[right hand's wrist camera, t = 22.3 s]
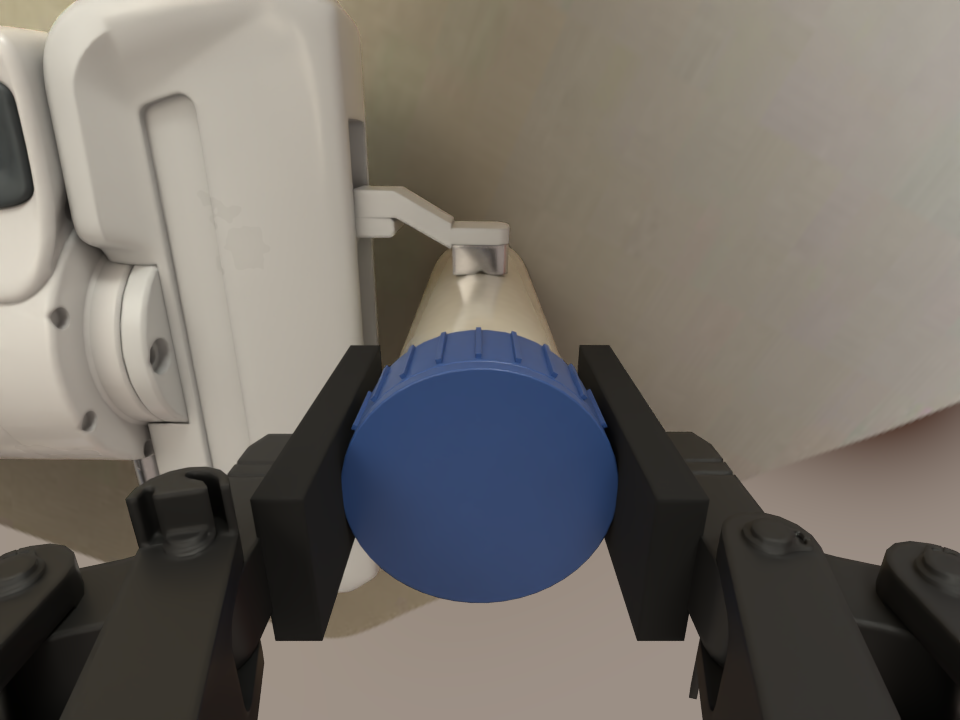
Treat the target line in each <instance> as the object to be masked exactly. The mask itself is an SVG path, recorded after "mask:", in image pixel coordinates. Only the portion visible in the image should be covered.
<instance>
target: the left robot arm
mask: <svg viewBox="0 0 960 720" xmlns="http://www.w3.org/2000/svg"><path fill="white" fill-rule="evenodd" d="M404 223H405V224H407V225H409V226H410V227H412V228H414V229H416V230H417V231H419V232H421V233H423V234H425V235H426V236H428V237H430V238H432V239H433V240H435V241H437V242H439V243H440V244H442V245H444V246H446V247H448V248H449V249H451V247H452V265H453V275H475V274H476V273H478V272H479V271H482V272H484V273H485V274H486V275H504V274H507V273H508V255H509V225H508V223H504V222H496V221H454V217H453V216H451V215H450V214H448V213H446V212H445V211H443V210H441V209H440V208H438V207H436V206H435V205H433V204H432V203H430V202H428V201H427V200H425V199H423V198H422V197H420V196H418V195H417V194H415V193H413V192H412V191H410V190H408V189H407V188H405V187H403V186H369V170H368V154H367V137H366V120H365V103H364V87H363V70H362V53H361V38H360V33H359V29H358V27H357V25H356V23H355V22H354V21H353V19H352V18H351V17H350V16H349V15H348V13H347V12H346V11H345V10H344V9H343V7H342V6H341V5H340V4H339V3H338V2H337V1H336V0H77V1H75V2H74V3H72V4H71V5H70V6H68V7H67V8H66V9H65V10H64V11H63V12H62V13H61V14H60V15H59V16H58V18H57V19H56V20H55V22H54V23H53V25H52V27H51V29H50V30H49V32H45V31H38V30H31V29H25V28H18V27H11V26H0V459H60V460H65V459H80V460H132V461H133V465H134V469H135V473H136V477H137V480H138V484H139V486H140V485H141V484H143V483H145V482H146V481H148V480H149V479H151V478H154V477H156V476H159V475H161V474H164V473H166V472H169V471H173V470H178V469H182V468H187V467H206V466H207V467H211V468H216V469H220V470H221V471H223V472H224V473H225V474H226V475H227V474H228V472H229V471H230V470H231V468H232V467H233V466H234V465H235V464H237V461H238V459H239V458H240V457H241V455H242V454H243V453H244V452H245V450H246V449H247V448H248V446H250V445H252V444H253V443H255V442H256V441H258V440H259V439H261V438H262V437H264V436H266V435H267V434H293V432H294V431H295V429H296V428H297V426H298V425H299V423H300V422H301V420H302V419H303V417H304V416H305V414H306V413H307V411H308V409H309V408H310V406H311V405H312V403H313V402H314V400H315V399H316V397H317V396H318V394H319V393H320V391H321V390H322V388H323V386H324V385H325V383H326V382H327V380H328V379H329V377H330V376H331V374H332V373H333V371H334V370H335V368H336V367H337V365H338V364H339V362H340V360H341V359H342V357H343V356H344V354H345V353H346V351H347V350H348V348H349V347H350V345H379V338H378V321H377V304H376V287H375V271H374V254H373V238H392V237H393V236H394V234H395V233H396V232H397V231H398V230H399V229H400V228H401V227H402V226H403V225H404ZM379 569H380V567H379V566H378V565H377V564H376V563H375V562H374V561H373V560H372V559H371V558H370V557H369V556H368V555H367V553H366V552H365V551H364V550H363V548H362V547H361V546H360V544H359V543H358V541H357V539H356V538H355V540H354V543H353V546H352V549H351V552H350V556H349V559H348V562H347V565H346V568H345V571H344V574H343V578H342V581H341V584H340V587H339V590H338V592H350V591H353V590H355V589H357V588H358V587H360V586H362V585H363V584H365V583H367V582H368V581H370V580H371V579H373V578H374V577H375V576H376V575H377V574H378V572H379Z"/></svg>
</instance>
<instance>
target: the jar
mask: <svg viewBox="0 0 960 720" xmlns="http://www.w3.org/2000/svg"><path fill="white" fill-rule="evenodd" d="M476 327H481V330H493V331H501V332H507V333H511V331H514V332H517V335H518V336H522V337H524V338H527V339H529V340H532V341H534V342H536V343H538V344H540V345H542V346H543V344H546V345H548V346H549V349H550V351H552V352H553V353H554V354H556V355H557V356H558V357H560V355H559V352H558V349H557V347H556V344H555V342H554V339H553V336H552V334H551V331H550V329H549V326H548V323H547V321H546V318H545V315H544V313H543V310H542V308H541V305H540V302H539V300H538V297H537V295H536V292H535V289H534V287H533V284H532V282H531V279H530V276H529V274H528V271H527V268H526V266H525V264H524V262H523V261H522V259H521V258H520V256H519V255H518V254H517V253H516V252H515V251H514V250H513V249H512V248H510V247H509V255H508V273H507V274H504V275H486V274H485V273H484V272H482V271H479V272H478V273H476V274H475V275H453V265H452V247H451V249H449V248H448V249H447V250H446V251H445V252H444V253H443V254H442V255H441V256H440V257H439V259H438V260H437V262H436V264H435V266H434V268H433V270H432V273H431V276H430V278H429V281H428V283H427V286H426V289H425V291H424V294H423V296H422V299H421V302H420V304H419V307H418V309H417V312H416V315H415V317H414V320H413V322H412V325H411V328H410V330H409V333H408V335H407V338H406V341H405V343H404V346H403V348H402V351H401V354H400V356H399V358H400V357H401V356H403V355H404V354H405V353H407V352H408V349H409V347H410V346H412V345H414V346H415V347H416V346H418V345H420V344H421V343H423V342H425V341H428V340H430V339H433V338H435V337H438V336H440V335H441V333H442V332H446V334H449V333H453V332H458V331H467V330H476ZM560 358H561V357H560Z"/></svg>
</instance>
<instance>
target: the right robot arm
mask: <svg viewBox="0 0 960 720" xmlns="http://www.w3.org/2000/svg"><path fill="white" fill-rule="evenodd" d="M381 374H382V366H381V352H380V345H350V347H349V348H348V350H347V351H346V353H345V354H344V356H343V357H342V359H341V360H340V362H339V364H338V365H337V367H336V368H335V370H334V371H333V373H332V374H331V376H330V377H329V379H328V380H327V382H326V383H325V385H324V386H323V388H322V390H321V391H320V393H319V394H318V396H317V397H316V399H315V400H314V402H313V403H312V405H311V406H310V408H309V409H308V411H307V413H306V414H305V416H304V417H303V419H302V420H301V422H300V423H299V425H298V426H297V428H296V429H295V431H294V432H293V434H267V435H266V436H264V437H262V438H261V439H259V440H258V441H256V442H255V443H253V444H252V445H250V446H248V448H247V449H246V450H245V452H244V453H243V454H242V455H241V457H240V458H239V459H238V461H237V464H235V465H234V466H233V467H232V468H231V470H230V471H229V472H228V474H227V475H226V474H225V473H224V472H223V471H221V470H220V469H216V468H211V467H207V466H206V467H187V468H182V469H178V470H173V471H169V472H166V473H164V474H161V475H159V476H156V477H154V478H151V479H149V480H148V481H146V482H145V483H143V484H141V485H140V486H138V487H137V488H135V489H134V490H133V491H132V492H131V494H130V495H129V496H128V497H127V498H126V499H125V500H126V503H127V507H128V511H129V514H130V518H131V521H132V525H133V528H134V532H135V536H136V539H137V543H138V546H139V549H138V551H137V553H136V556H133V557H130V558H126V559H122V560H117V561H112V562H107V563H103V564H98V565H93V566H88V567H84V568H79V566H78V563H77V560H76V557H75V554H74V552H73V551H71V550H70V549H69V548H68V547H66V546H63V545H56V544H43V545H36V546H29V547H25V548H20V549H19V550H14V551H11V552H8V553H5V554H3V555H2V556H0V720H257V719H258V711H259V702H260V694H261V685H262V676H263V668H264V658H263V651H262V646H261V641H260V638H261V636H262V634H263V632H264V629H265V627H266V625H267V623H268V620H269V618H270V616H271V618H272V624H273V629H274V635H275V640H276V641H322V640H323V637H324V634H325V631H326V628H327V625H328V622H329V618H330V615H331V612H332V609H333V606H334V603H335V600H336V596H337V593H338V590H339V587H340V584H341V581H342V578H343V574H344V571H345V568H346V565H347V562H348V559H349V556H350V552H351V549H352V546H353V543H354V540H355V536H354V534H353V533H352V530H351V528H350V526H349V523H348V521H347V519H346V515H345V510H344V502H343V493H342V483H341V471H342V467H343V462H344V457H345V454H346V452H347V449H348V446H349V444H350V441H351V439H352V437H353V434H354V432H355V430H352V429H351V428H352V426H353V424H354V421H355V419H356V417H357V415H358V413H359V410H360V408H361V406H362V404H363V402H364V399H365V397H366V395H367V393H368V391H370V392H373V390H374V388H375V386H376V385H377V383H378V381H379V378H380V376H381ZM578 377H579V379H580V380H581V382H582V383H583V385H584V387H585V389H586V391H587V390H589V389H590V390H591V392H592V394H593V396H594V398H595V400H596V403H597V405H598V407H599V409H600V411H601V414H602V416H603V418H604V420H605V422H606V425H607V427H606V428H604V431H605V433H606V435H607V438H608V440H609V442H610V445H611V448H612V450H613V453H614V456H615V459H616V464H617V469H618V489H617V499H616V507H615V513H614V517H613V520H612V522H611V525H610V527H609V529H608V532H607V534H606V535H605V537H604V538H605V541H606V544H607V547H608V550H609V554H610V557H611V560H612V563H613V566H614V569H615V572H616V576H617V579H618V582H619V585H620V588H621V591H622V594H623V598H624V601H625V604H626V607H627V610H628V613H629V616H630V620H631V623H632V626H633V629H634V632H635V635H636V638H637V641H684V638H685V633H686V627H687V622H688V616H689V614H690V616H691V619H692V621H693V623H694V625H695V627H696V630H697V632H698V634H699V636H700V641H699V646H698V651H697V656H696V661H695V666H694V671H693V676H692V682H691V687H690V694H689V698H693V699H697V694H698V690H699V692H700V701H701V709H702V717H703V720H960V553H958V552H956V551H954V550H951V549H948V548H945V547H944V548H943V547H941V546H938V545H934V544H929V543H921V542H913V541H908V542H900V543H895V544H893V545H892V546H891V547H890V548H888V549H887V550H886V553H885V556H884V559H883V562H882V565H881V566H879V565H874V564H869V563H864V562H859V561H854V560H849V559H845V558H840V557H836V556H832V555H828V554H825V553H824V552H823V550H822V548H821V546H820V545H819V544H818V543H817V541H816V540H815V539H814V537H813V536H812V535H811V534H809V533H808V532H807V531H805V530H804V529H803V528H801V527H800V526H798V525H797V524H795V523H793V522H790V521H788V520H786V519H784V518H781V517H779V516H775V515H771V514H767V513H764V512H763V510H762V509H761V508H760V506H759V505H758V504H757V503H756V501H755V500H754V499H753V497H752V496H751V495H750V494H749V492H748V491H747V490H746V488H745V487H744V486H743V485H742V483H741V482H740V481H739V479H738V478H737V477H736V476H735V475H733V472H732V470H731V469H730V468H729V467H728V465H727V464H726V463H725V462H723V459H722V458H721V456H720V455H719V454H718V452H717V451H716V450H715V449H714V447H713V446H712V445H711V444H710V443H708V442H707V441H705V440H703V439H702V438H700V437H699V436H697V435H696V434H694V433H692V432H665V430H664V428H663V427H662V425H661V424H660V422H659V421H658V419H657V418H656V416H655V415H654V413H653V412H652V410H651V409H650V407H649V405H648V404H647V402H646V401H645V399H644V398H643V396H642V395H641V393H640V392H639V390H638V389H637V387H636V386H635V384H634V382H633V381H632V379H631V378H630V376H629V375H628V373H627V372H626V370H625V369H624V367H623V366H622V364H621V363H620V361H619V359H618V358H617V356H616V355H615V353H614V352H613V350H612V349H611V347H610V346H609V345H580V346H579V361H578Z"/></svg>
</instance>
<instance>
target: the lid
mask: <svg viewBox="0 0 960 720" xmlns="http://www.w3.org/2000/svg"><path fill="white" fill-rule="evenodd" d="M606 427H607V425H606V422H605V420H604V418H603V416H602V414H601V411H600V409H599V407H598V405H597V403H596V400H595V398H594V396H593V394H592V392H591V390H590V389H589V390H587V391H586V389H585V387H584V385H583V383H582V382H581V380H580V379H579V377H578V374H577V372H576V370H575V367H574V366H573V365H572V364H570V365H569V366H568V365H567V364H566V363H565V362H564V361H563V360H562V359H561V358H560V357H558V356H557V355H556V354H554V353H553V352H552V351H550V349H549V346H548V345H546V344H543V346H542V345H540V344H538V343H536V342H534V341H532V340H529V339H527V338H524V337H522V336H518V335H517V332H514V331H511V333H507V332H501V331H493V330H481V327H476V330H467V331H458V332H453V333H449V334H446V332H442V333H441V335H440V336H438V337H435V338H433V339H430V340H428V341H425V342H423V343H421V344H420V345H418V346H416V347H415V346H414V345H412V346H410V347H409V349H408V352H407V353H405V354H404V355H403V356H401V357H400V358H398V359H397V360H396V361H395V362H394V363H393V364H392V365H391V366H390V367H389V366H388V365H386V366H385V368H384V369H383V372H382V374H381V376H380V378H379V381H378V383H377V385H376V386H375V388H374V390H373V392H370V391H368V393H367V395H366V397H365V399H364V402H363V404H362V406H361V408H360V410H359V413H358V415H357V417H356V419H355V421H354V424H353V426H352V428H351V429H352V430H355V432H354V434H353V437H352V439H351V441H350V444H349V446H348V449H347V452H346V454H345V457H344V462H343V467H342V471H341V483H342V493H343V502H344V510H345V515H346V519H347V521H348V523H349V526H350V528H351V530H352V533H353V534H354V536H355V538H356V539H357V541H358V543H359V544H360V546H361V547H362V548H363V550H364V551H365V552H366V553H367V555H368V556H369V557H370V558H371V559H372V560H373V561H374V562H375V563H376V564H377V565H378V566H379V567H380V568H381V569H383V570H384V571H385V572H387V573H388V574H389V575H391V576H392V577H393V578H395V579H397V580H398V581H400V582H402V583H403V584H405V585H407V586H409V587H411V588H413V589H415V590H418V591H420V592H422V593H425V594H428V595H431V596H435V597H438V598H442V599H447V600H452V601H458V602H468V603H491V602H502V601H508V600H512V599H518V598H522V597H525V596H528V595H531V594H534V593H537V592H539V591H542V590H544V589H546V588H549V587H551V586H553V585H554V584H556V583H558V582H560V581H561V580H563V579H565V578H566V577H567V576H569V575H570V574H572V573H573V572H574V571H576V570H577V569H578V568H579V567H580V566H581V565H582V564H583V563H584V562H586V561H587V560H588V559H589V558H590V556H591V555H592V554H593V553H594V551H595V550H596V549H597V548H598V547H599V545H600V543H601V542H602V540H603V539H604V537H605V535H606V534H607V532H608V529H609V527H610V525H611V522H612V520H613V517H614V513H615V507H616V499H617V489H618V469H617V464H616V459H615V456H614V453H613V450H612V448H611V445H610V442H609V440H608V438H607V435H606V433H605V431H604V428H606Z"/></svg>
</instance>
